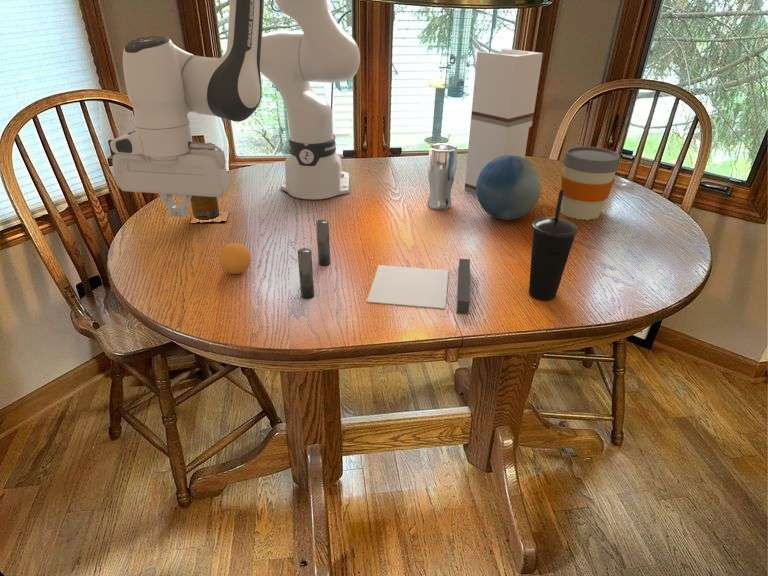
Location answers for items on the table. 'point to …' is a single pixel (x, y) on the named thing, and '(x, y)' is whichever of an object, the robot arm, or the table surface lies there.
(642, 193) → the table surface
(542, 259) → the drinking cup
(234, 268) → the ball
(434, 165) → the silver metal cylinder
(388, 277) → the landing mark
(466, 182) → the tall brown-banded box
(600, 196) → the reusable coffee cup
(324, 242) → the post
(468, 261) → the wall
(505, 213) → the decorative ball
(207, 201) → the condiment
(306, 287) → the post
